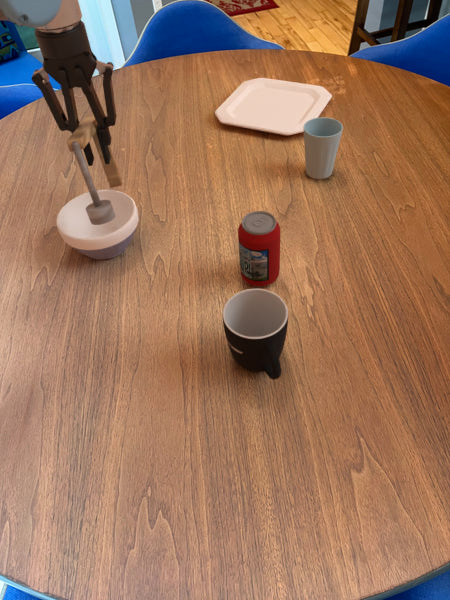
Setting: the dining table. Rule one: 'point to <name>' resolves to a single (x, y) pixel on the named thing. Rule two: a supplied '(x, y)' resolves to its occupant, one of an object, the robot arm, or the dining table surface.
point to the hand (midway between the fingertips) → (99, 160)
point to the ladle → (78, 140)
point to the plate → (273, 105)
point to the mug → (256, 330)
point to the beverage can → (259, 248)
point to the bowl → (103, 237)
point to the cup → (321, 146)
